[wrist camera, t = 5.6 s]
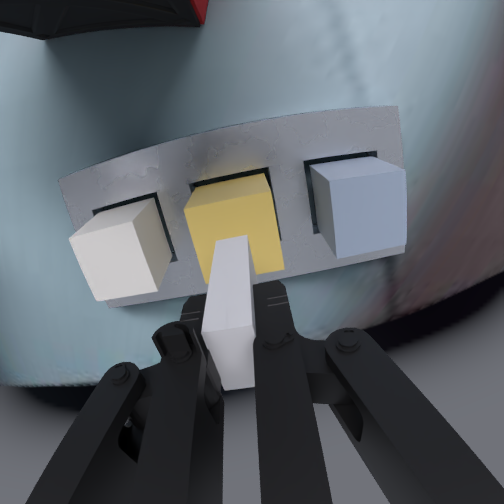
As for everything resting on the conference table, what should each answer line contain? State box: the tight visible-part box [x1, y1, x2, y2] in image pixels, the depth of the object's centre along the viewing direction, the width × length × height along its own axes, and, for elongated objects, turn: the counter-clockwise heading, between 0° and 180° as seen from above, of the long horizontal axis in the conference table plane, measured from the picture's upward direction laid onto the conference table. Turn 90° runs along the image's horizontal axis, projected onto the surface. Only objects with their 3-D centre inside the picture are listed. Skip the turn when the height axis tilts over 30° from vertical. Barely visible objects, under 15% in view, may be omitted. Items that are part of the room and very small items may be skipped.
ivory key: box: [69, 197, 172, 301], centre depth 20 cm, size 5×5×5 cm
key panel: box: [58, 106, 405, 308], centre depth 23 cm, size 26×12×2 cm, turn 101°
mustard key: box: [184, 173, 285, 284], centre depth 19 cm, size 5×5×5 cm
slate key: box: [309, 156, 407, 259], centre depth 19 cm, size 5×5×5 cm
